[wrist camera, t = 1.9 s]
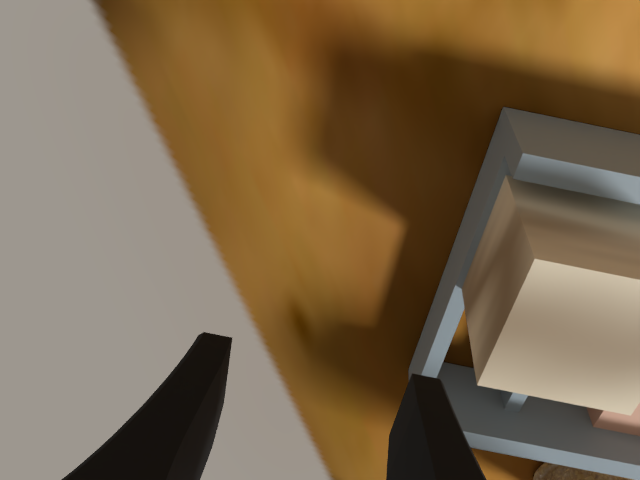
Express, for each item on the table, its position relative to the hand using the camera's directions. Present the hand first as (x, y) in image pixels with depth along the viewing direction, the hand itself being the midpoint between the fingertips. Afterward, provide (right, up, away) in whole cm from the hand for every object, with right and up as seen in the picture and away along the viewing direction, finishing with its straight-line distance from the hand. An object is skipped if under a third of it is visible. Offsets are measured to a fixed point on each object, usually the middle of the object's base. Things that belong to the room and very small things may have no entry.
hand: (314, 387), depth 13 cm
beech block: (+8, +3, +7) cm, 11 cm away
